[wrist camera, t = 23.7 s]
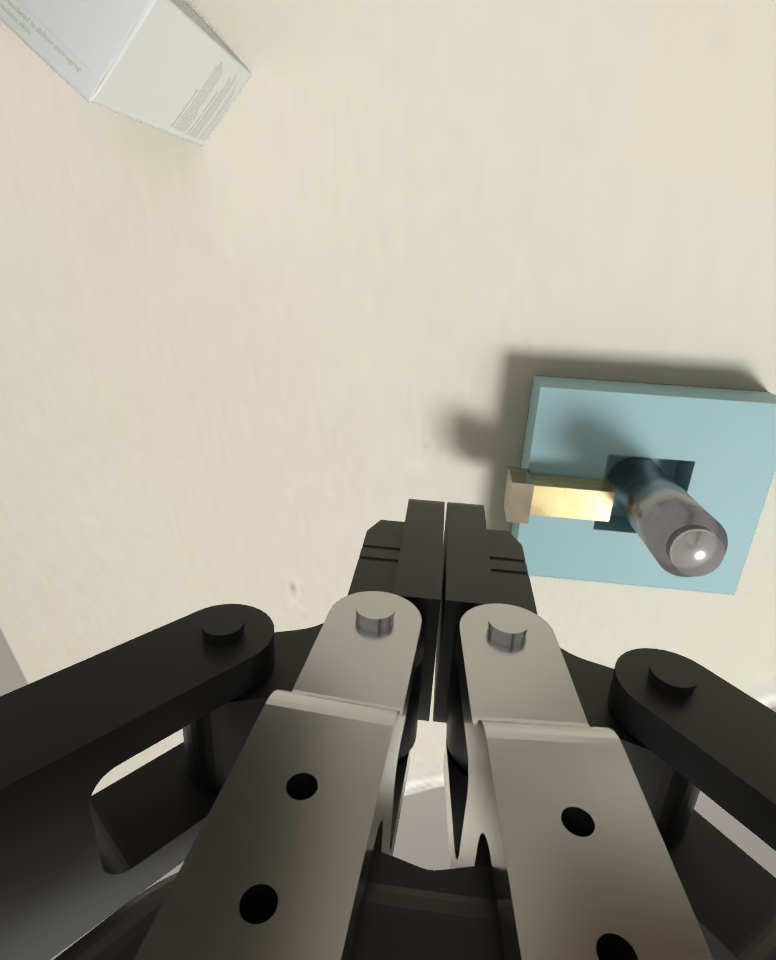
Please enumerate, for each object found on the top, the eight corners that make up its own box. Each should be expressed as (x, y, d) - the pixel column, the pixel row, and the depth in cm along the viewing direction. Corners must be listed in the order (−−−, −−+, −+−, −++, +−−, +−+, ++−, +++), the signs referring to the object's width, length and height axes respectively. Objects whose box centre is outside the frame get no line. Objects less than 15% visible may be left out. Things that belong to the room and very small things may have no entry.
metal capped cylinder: (618, 450, 48) (678, 513, 35) (671, 464, 48) (749, 533, 35) (598, 498, 49) (649, 575, 37) (649, 512, 49) (717, 594, 37)
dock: (533, 375, 47) (540, 386, 43) (768, 391, 46) (796, 405, 42) (508, 550, 53) (512, 573, 49) (714, 569, 52) (734, 595, 48)
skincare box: (114, 61, 42) (-63, -32, 27) (166, -26, 40) (2, -177, 25) (206, 152, 43) (84, 109, 29) (261, 73, 41) (158, -15, 27)
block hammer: (508, 467, 46) (512, 482, 43) (608, 475, 45) (619, 491, 42) (503, 504, 47) (506, 521, 44) (600, 512, 46) (610, 531, 43)
